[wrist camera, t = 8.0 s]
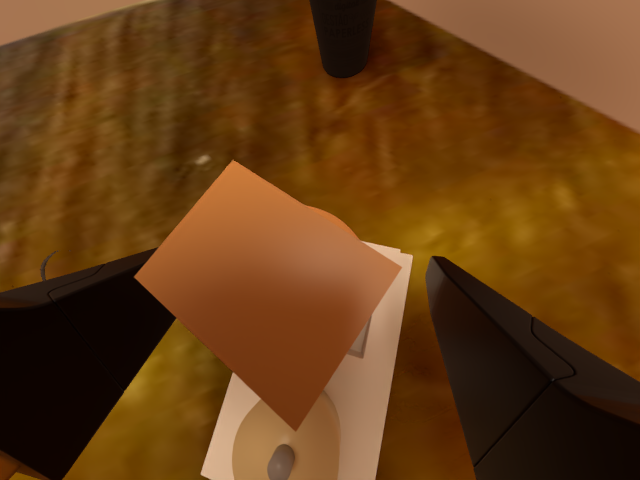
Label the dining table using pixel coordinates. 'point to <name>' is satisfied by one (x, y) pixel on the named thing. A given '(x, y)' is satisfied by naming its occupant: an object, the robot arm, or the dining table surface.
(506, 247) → the dining table surface
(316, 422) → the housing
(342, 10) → the drinking cup
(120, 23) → the dining table surface
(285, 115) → the dining table surface
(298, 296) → the orange square-topped peg
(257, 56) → the dining table surface
